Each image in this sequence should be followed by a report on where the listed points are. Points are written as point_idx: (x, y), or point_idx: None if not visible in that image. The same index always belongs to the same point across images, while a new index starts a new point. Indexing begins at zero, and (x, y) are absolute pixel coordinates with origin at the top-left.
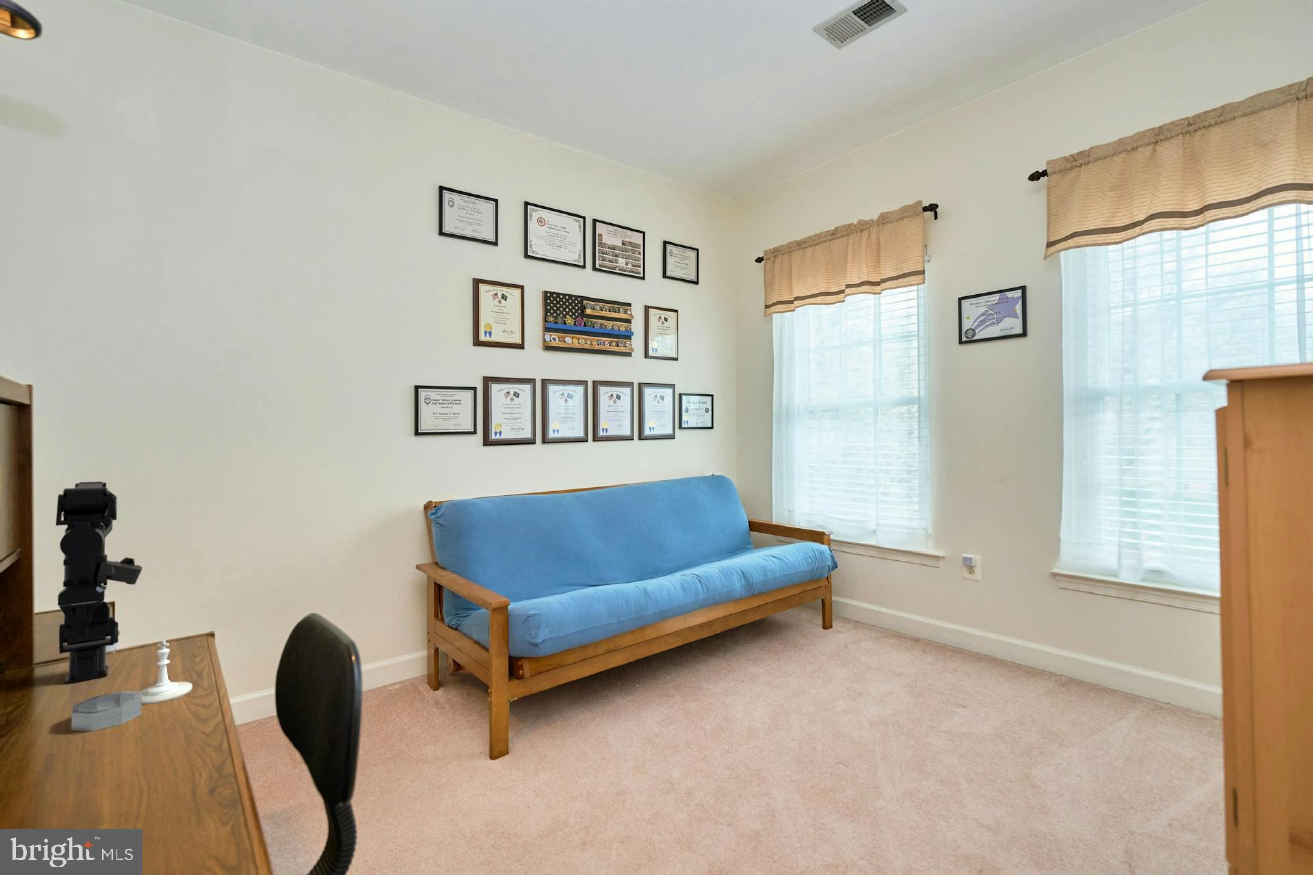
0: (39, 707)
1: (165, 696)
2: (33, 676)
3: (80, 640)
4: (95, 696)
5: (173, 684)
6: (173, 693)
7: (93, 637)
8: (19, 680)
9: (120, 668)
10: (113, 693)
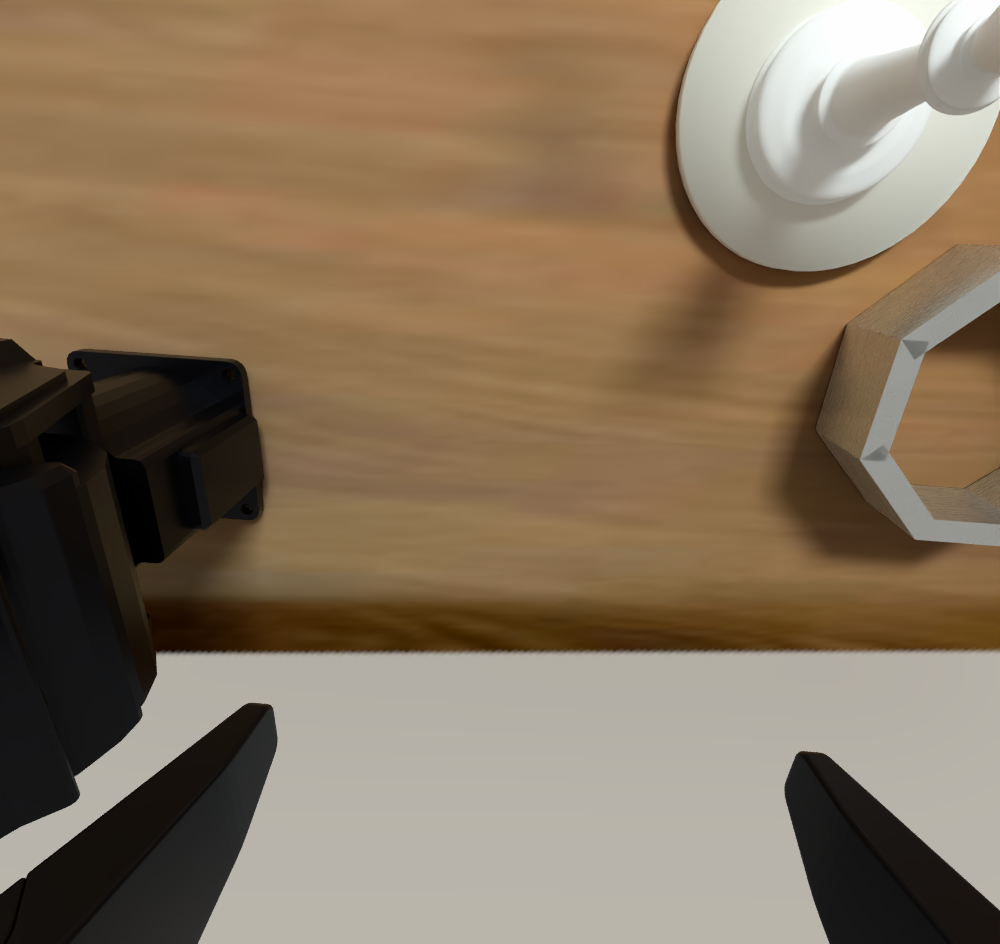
0: (536, 587)
1: None
2: None
3: (141, 598)
4: (860, 457)
5: (895, 31)
6: None
7: (122, 535)
8: None
9: (120, 294)
10: (902, 382)
